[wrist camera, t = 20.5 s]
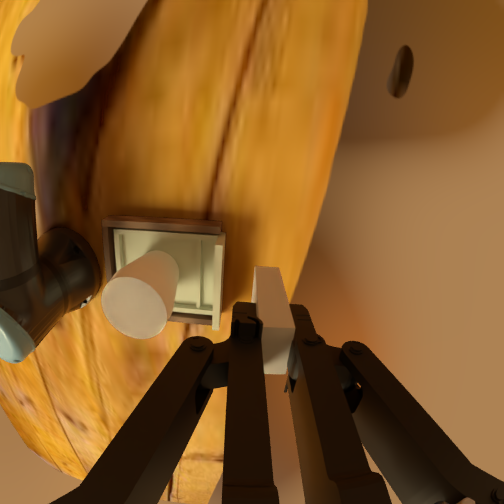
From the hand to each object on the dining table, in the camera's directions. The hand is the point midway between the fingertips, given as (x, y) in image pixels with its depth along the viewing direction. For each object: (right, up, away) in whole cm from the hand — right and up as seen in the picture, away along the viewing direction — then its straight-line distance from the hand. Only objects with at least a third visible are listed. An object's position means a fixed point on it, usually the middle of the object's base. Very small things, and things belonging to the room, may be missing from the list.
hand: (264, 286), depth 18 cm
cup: (-15, -1, +25) cm, 29 cm away
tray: (-14, 0, +25) cm, 29 cm away
